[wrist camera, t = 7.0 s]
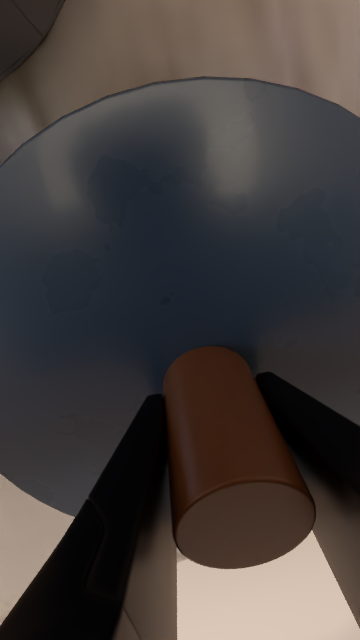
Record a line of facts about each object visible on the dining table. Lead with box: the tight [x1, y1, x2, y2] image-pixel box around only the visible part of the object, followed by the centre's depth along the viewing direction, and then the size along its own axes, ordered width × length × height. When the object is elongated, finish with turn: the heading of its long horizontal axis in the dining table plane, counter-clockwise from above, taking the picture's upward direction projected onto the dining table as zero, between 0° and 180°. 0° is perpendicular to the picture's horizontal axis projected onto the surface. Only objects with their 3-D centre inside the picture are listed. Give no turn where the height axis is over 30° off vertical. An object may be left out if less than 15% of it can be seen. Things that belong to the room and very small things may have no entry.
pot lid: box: [0, 76, 360, 569], centre depth 8 cm, size 15×15×5 cm
